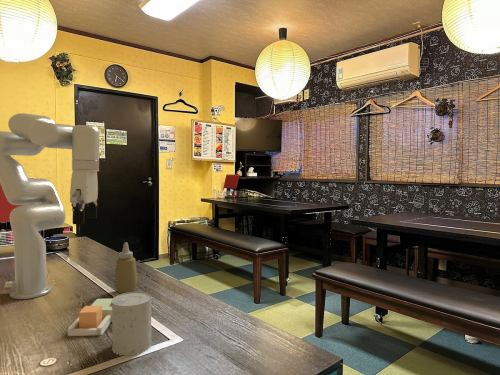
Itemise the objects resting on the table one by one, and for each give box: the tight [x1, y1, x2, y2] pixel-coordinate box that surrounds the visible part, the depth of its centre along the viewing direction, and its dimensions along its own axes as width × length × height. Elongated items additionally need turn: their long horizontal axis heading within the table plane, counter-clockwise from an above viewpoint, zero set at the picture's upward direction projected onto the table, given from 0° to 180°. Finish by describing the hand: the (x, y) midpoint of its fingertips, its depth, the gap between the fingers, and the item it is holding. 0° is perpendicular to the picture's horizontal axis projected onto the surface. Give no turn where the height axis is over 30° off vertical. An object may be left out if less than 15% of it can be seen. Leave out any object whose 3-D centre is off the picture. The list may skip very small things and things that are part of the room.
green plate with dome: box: [67, 298, 113, 337], centre depth 102 cm, size 15×18×4 cm
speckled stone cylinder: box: [111, 291, 153, 356], centre depth 88 cm, size 10×10×12 cm
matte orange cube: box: [78, 305, 102, 329], centre depth 98 cm, size 5×5×6 cm
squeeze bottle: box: [114, 242, 139, 295], centre depth 126 cm, size 8×8×18 cm
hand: (85, 221), depth 108 cm, fingers open, 9 cm apart
